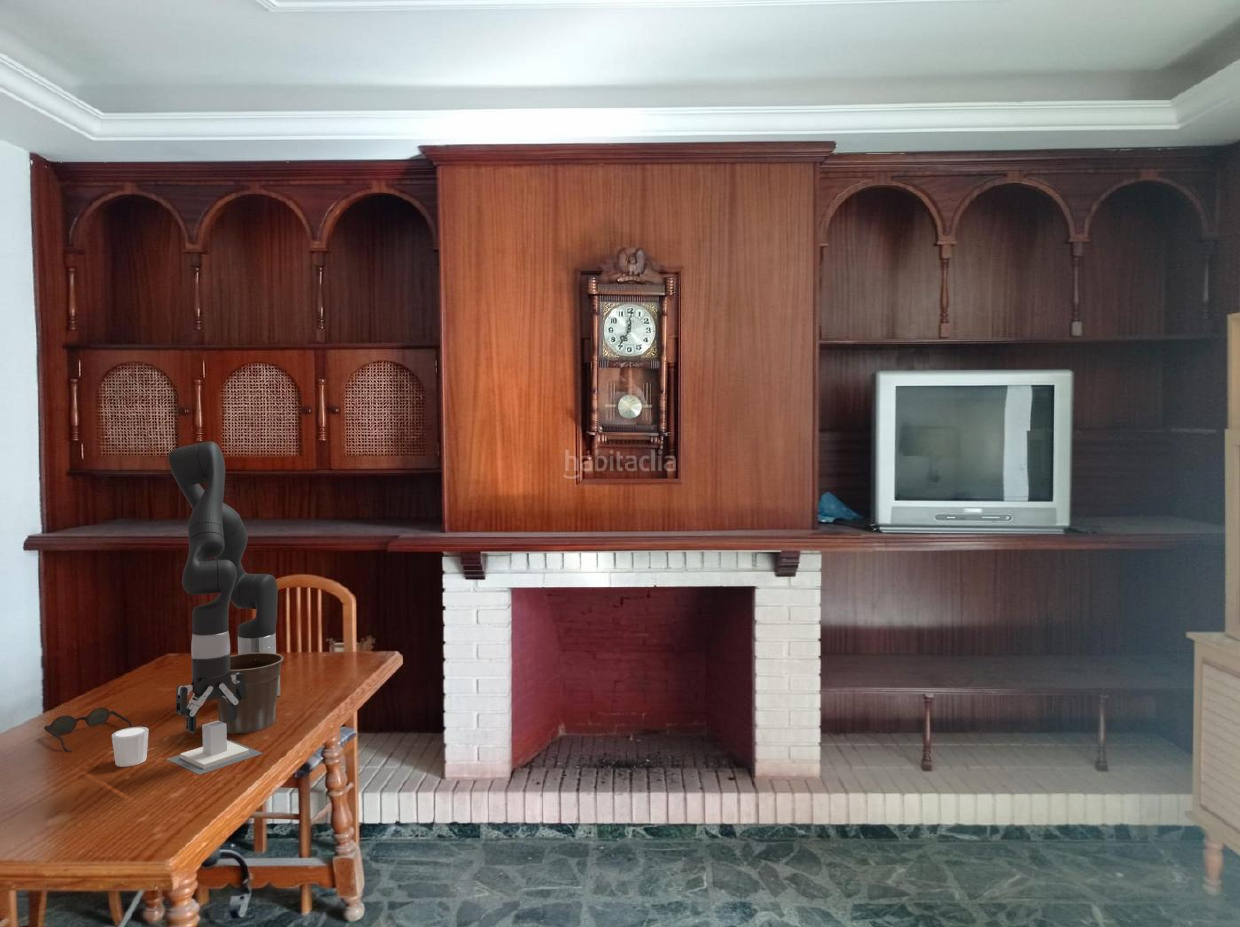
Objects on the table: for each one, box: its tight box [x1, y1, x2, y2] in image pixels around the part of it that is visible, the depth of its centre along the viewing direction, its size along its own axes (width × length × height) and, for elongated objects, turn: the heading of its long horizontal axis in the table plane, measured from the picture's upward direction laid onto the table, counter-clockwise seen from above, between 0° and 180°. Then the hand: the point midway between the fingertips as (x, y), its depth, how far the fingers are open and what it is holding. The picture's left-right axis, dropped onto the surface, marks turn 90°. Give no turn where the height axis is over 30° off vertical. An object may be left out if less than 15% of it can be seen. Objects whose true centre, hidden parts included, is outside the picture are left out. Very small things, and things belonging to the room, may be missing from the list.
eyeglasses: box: [43, 706, 133, 753], centre depth 195 cm, size 15×15×5 cm
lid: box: [179, 720, 249, 769], centre depth 181 cm, size 10×10×7 cm
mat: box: [166, 739, 264, 776], centre depth 181 cm, size 14×14×1 cm
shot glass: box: [111, 726, 150, 768], centre depth 179 cm, size 7×7×7 cm
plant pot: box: [216, 653, 284, 735], centre depth 201 cm, size 16×16×16 cm
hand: (212, 726), depth 181 cm, fingers open, 8 cm apart
